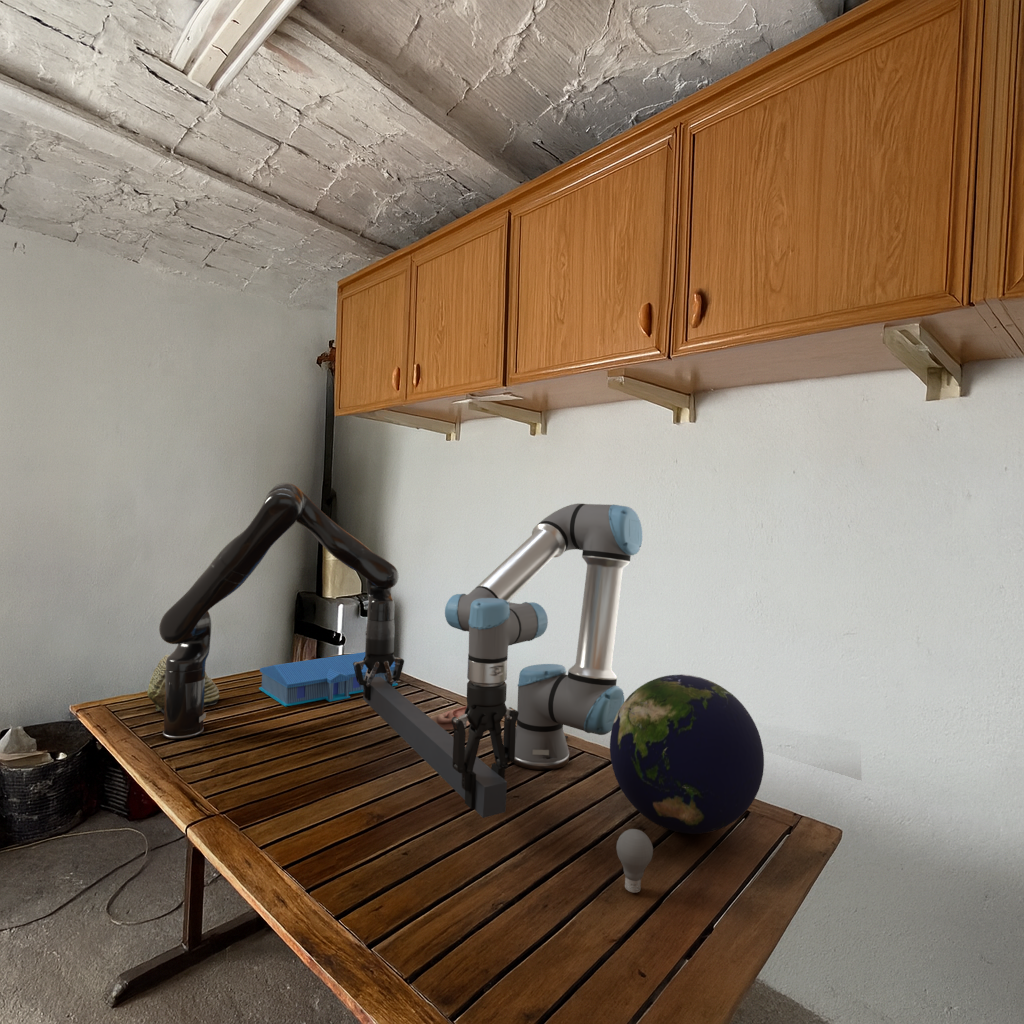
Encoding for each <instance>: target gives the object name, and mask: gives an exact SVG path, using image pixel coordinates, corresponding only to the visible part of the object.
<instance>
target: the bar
mask: <svg viewBox="0 0 1024 1024" xmlns="http://www.w3.org/2000/svg"><path fill="white" fill-rule="evenodd" d="M370 686H371V695H370V700H367V699H366V698H365V697H364V695H363V694H362V700H363V701H364V702H365V703H366V704H367V705H368V706H369V707H370V708H371V709H372V710H373V712H375V713H376V714H377V715H378V716H379V717H380V718H381V719H382V720H383V721H384V722H385V723H386V724H387V725H388V726H389V727H390V728H391V729H392V730H394V732H395V733H396V734H397V735H398V736H399V737H400V738H402V739H403V741H405V742H406V744H407V745H409V747H411V749H412V750H414V751H415V752H416V754H417V755H418V756H419V757H421V758H422V760H424V762H426V763H427V765H428V766H429V767H431V768H432V770H433V771H434V772H436V773H437V774H438V775H439V776H440V777H441V779H443V780H444V781H445V782H446V783H447V784H448V785H449V786H450V787H451V788H452V789H453V790H454V791H455V792H456V793H457V794H458V795H459V796H460V797H461V798H462V799H463V800H464V801H465V790H464V789H463V788H462V773H459V772H458V771H457V770H455V769H454V768H453V766H452V765H453V740H454V735H451V734H450V733H449V732H448V731H447V730H444V729H443V728H442V727H441V726H439V725H438V724H437V723H436V722H435V721H433V720H432V719H431V718H430V717H431V716H429V715H427V714H426V712H424V711H422V709H420V708H419V707H418V706H416V705H415V704H414V703H413V702H412V701H410V700H409V698H407V697H406V696H405V695H403V694H402V693H401V692H400V691H398V690H397V689H396V688H395V686H391V685H390V684H389V683H388V682H386V681H385V680H384V679H383V678H382V677H374V678H373V679H372V682H371V685H370ZM363 692H364V686H363ZM363 692H362V693H363ZM465 749H466V746H465ZM473 772H474V773H475V774H476V790H475V809H473V810H474V811H475V812H476V813H477V814H478V815H479V816H480V817H481V818H482V819H485V818H489V817H492V816H493V817H494V816H496V815H500V814H503V813H504V814H505V813H506V811H507V810H506V809H507V794H508V792H507V791H508V781H507V780H506V779H505V780H504V779H503V778H502V777H501V776H499V775H498V774H497V773H496V772H495V771H493V770H492V769H491V766H488V765H487V764H486V763H485V762H484V761H483V760H481V759H480V758H479V757H478V756H477V755H476V759H475V763H474V767H473Z"/></svg>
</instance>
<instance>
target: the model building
mask: <svg viewBox="0 0 1024 1024" xmlns="http://www.w3.org/2000/svg"><path fill="white" fill-rule="evenodd" d="M364 657H365V651H363V652H356V653H349V654H342V655H341V654H340V655H335V656H329V657H328V656H327V657H321V658H315V659H314V658H313V659H307V660H300V661H293V662H287V663H278V664H272V665H268V666H264V667H263V666H262V667H260V668H259V672H260V673H261V686H260V687H258V690H260V691H261V692H262V693H264V694H265V695H267V696H268V697H270V698H271V699H273V700H274V701H276V702H277V703H279V704H280V705H282V706H283V707H290V706H297V705H302V704H307V703H312V702H317V701H323V700H325V701H327V702H329V703H330V702H335V701H341V700H346V699H347V700H348V699H350V698H351V695H353V694H359V693H363V686H364V685H360V684H359V683H358V682H357V680H356V675H355V670H354V666H353V663H354V662H360V661H363V659H364ZM394 668H395V664H394V662H393V664H392V665H391V667H390V671H391V674H392V676H393V672H394ZM367 669H368V668H367V667H366V665H364V666H363V669H362V675H363V680H364V679H365V676H366V671H367ZM374 677H382V678H383V679H384V680H385V681H386V678H385V675H384V673H378V674H375V676H374ZM395 686H399V683H398V682H397V681H395V682H393V684H392V687H395Z"/></svg>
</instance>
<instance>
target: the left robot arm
mask: <svg viewBox="0 0 1024 1024" xmlns="http://www.w3.org/2000/svg"><path fill="white" fill-rule="evenodd" d="M296 523H297V524H299V525H300V526H302V527H304V528H305V529H306V530H307V531H308V532H310V533H311V534H312V535H313V536H314V538H316V540H317V541H318V542H319V544H321V545H322V546H323V548H324V549H325V550H327V553H329V554H331V555H332V557H334V558H335V559H336V560H338V561H340V562H341V563H342V564H344V565H345V566H347V567H348V568H350V569H351V570H353V571H355V572H357V573H358V574H360V575H361V576H363V577H364V578H365V579H366V592H367V599H368V601H367V602H368V605H367V620H366V626H365V648H364V652H365V657H364V659H363V661H360V662H354V663H353V666H354V670H355V675H356V680H357V682H358V683H359V684H360V685H364V692H362V696H363V695H364V697H365V698H366V699H367V700H370V695H371V686H370V685H371V682H372V679H373V678H374V676H375V674H378V673H384V675H385V678H386V682H388V683H389V684H390V685H391V686H392V684H393V682H395V681H396V682H398V681H400V679H401V675H402V672H403V668H404V664H405V660H404V659H403V658H402V657H401V656H399V657H396V656H395V655H394V653H395V652H394V651H395V601H394V598H393V596H392V588H394V587H395V586H396V585H397V583H398V582H399V578H400V577H399V571H398V569H397V567H396V566H395V565H394V564H393V563H391V562H389V561H388V560H386V559H385V558H384V557H382V556H380V555H378V554H377V553H375V552H373V550H371V549H370V548H369V547H367V545H365V543H362V542H361V541H360V540H359V539H357V538H356V537H354V536H353V535H352V534H350V533H349V532H347V531H346V530H345V529H344V528H343V527H341V526H340V525H339V524H337V523H336V522H335V521H334V520H332V519H331V518H330V516H328V515H326V513H324V512H323V511H322V510H321V509H320V508H319V507H318V506H317V505H316V504H315V503H314V502H313V501H312V500H311V499H310V497H308V496H307V495H306V494H305V493H304V492H303V491H302V490H301V488H299V487H298V486H296V485H295V484H293V483H290V482H278V483H276V484H275V485H273V486H272V487H271V488H270V489H269V490H268V492H267V493H266V497H265V499H264V500H263V504H262V505H261V507H260V508H259V510H258V512H257V513H256V515H255V516H254V518H253V519H252V521H250V522H249V524H248V526H247V527H246V528H245V529H244V530H243V531H242V532H241V533H240V534H238V535H237V536H235V537H234V538H233V539H232V540H230V541H229V542H228V543H227V544H226V545H225V546H224V547H223V548H222V549H221V550H220V551H219V553H218V554H217V555H216V556H215V558H214V559H212V560H211V562H210V564H209V565H208V566H207V568H206V569H205V570H204V571H203V572H202V573H201V574H200V576H199V577H197V580H196V581H195V582H194V583H193V585H191V587H190V588H189V589H188V590H187V591H186V592H185V593H184V594H183V595H182V596H181V597H180V598H179V599H178V600H177V601H176V602H175V603H174V604H173V605H172V606H171V607H170V608H169V609H168V610H167V611H166V612H165V613H164V614H163V616H162V617H161V619H160V622H159V625H158V626H159V627H158V628H159V629H158V631H159V636H160V638H161V640H162V641H164V642H165V643H167V644H170V645H176V647H175V649H174V650H173V652H172V653H170V654H169V655H170V656H168V658H167V660H166V674H165V705H164V709H163V708H162V709H161V711H160V712H161V713H162V714H163V731H162V737H164V738H166V739H169V740H185V739H190V738H191V739H192V738H194V737H197V736H199V735H202V734H203V732H204V730H205V729H204V722H205V721H204V720H205V719H206V718H207V712H205V706H204V693H205V672H206V664H207V663H206V662H207V658H208V657H209V654H210V649H211V639H212V617H211V614H210V612H209V610H211V609H212V608H213V607H214V606H215V605H217V604H219V603H220V602H221V601H223V600H225V599H226V598H227V597H229V596H230V595H231V594H233V593H234V592H235V591H236V590H238V589H239V588H240V587H241V586H243V584H244V583H245V582H246V581H247V580H248V578H249V577H250V576H251V575H252V574H253V572H254V571H255V570H256V568H257V567H258V566H259V564H260V563H261V562H262V560H263V559H264V558H265V556H266V555H267V553H268V552H269V550H270V549H271V547H272V546H273V545H274V544H275V543H276V542H277V541H278V540H279V539H280V538H281V537H282V536H283V535H284V534H285V533H287V531H288V530H289V529H291V528H292V527H293V526H294V525H295V524H296ZM393 662H394V664H395V668H394V672H393V676H392V674H391V671H390V667H391V665H392V664H393ZM364 665H366V667H367V668H368V669H367V671H366V676H365V679H364V680H363V675H362V669H363V666H364ZM392 687H393V686H392Z"/></svg>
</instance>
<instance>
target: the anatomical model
mask: <svg viewBox="0 0 1024 1024" xmlns="http://www.w3.org/2000/svg"><path fill="white" fill-rule="evenodd" d="M466 708H467V705H465V706H461V707H460V706H459V707H457V708H453V709H450V710H447V711H445V712H442V713H439V714H436V715H432V716H429V717H430V718H431V719H432V720H433V721H435V722H436V723H437V724H438V725H439V726H441V727H442V728H443V729H444V730H445V731H447V730H454V728H453V724H452V721H451V720H452V718H453V717H457V718H458V717H460V716H461V715H463V714H465V710H466ZM466 726H467V727H468V726H470V723H469V721H467V722H466Z"/></svg>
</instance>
